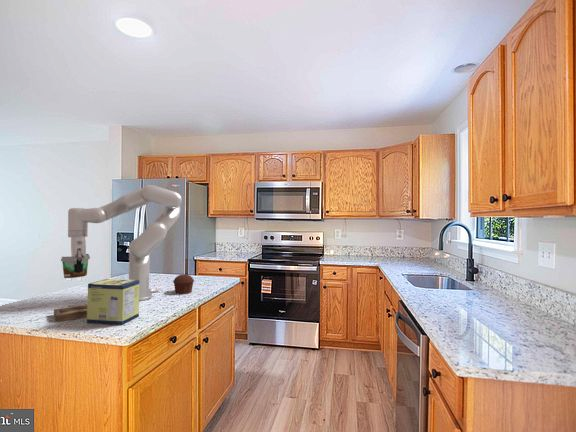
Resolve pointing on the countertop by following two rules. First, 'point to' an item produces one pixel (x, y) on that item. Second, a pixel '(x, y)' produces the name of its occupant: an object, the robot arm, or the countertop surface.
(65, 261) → the food container
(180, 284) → the muffin
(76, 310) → the base plate
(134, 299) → the protein box
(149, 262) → the robot arm
